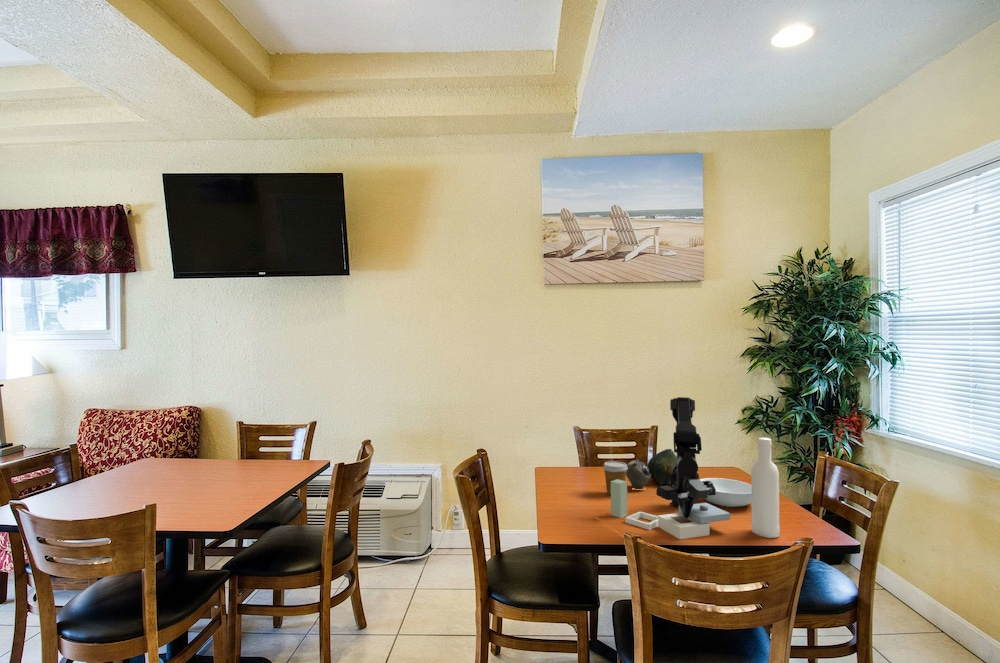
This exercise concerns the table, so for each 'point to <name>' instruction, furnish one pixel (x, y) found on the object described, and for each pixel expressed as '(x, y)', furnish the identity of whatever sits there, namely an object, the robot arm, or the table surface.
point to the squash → (662, 466)
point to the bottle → (765, 493)
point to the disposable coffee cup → (614, 473)
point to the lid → (707, 513)
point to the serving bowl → (730, 492)
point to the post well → (633, 521)
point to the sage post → (619, 498)
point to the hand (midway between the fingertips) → (686, 517)
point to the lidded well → (682, 526)
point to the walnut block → (682, 520)
